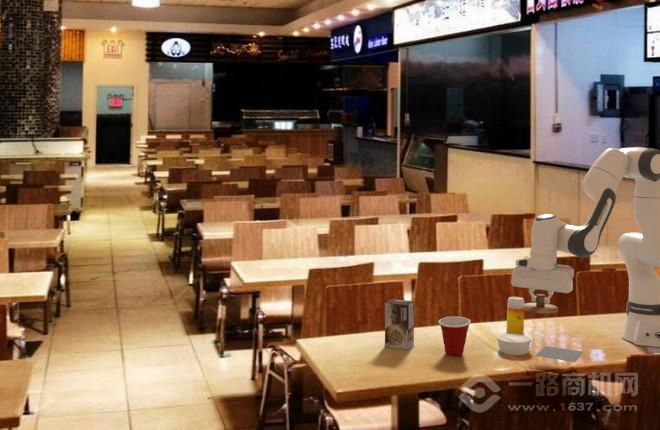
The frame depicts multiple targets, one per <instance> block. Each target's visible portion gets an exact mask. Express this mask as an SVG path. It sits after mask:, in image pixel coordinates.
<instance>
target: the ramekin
mask: <svg viewBox="0 0 660 430" xmlns="http://www.w3.org/2000/svg"><path fill="white" fill-rule="evenodd" d="M497 342H498V343H497V344H498V349H499V352H500V353H503V354H506V355H510V356H522V355H527V354H528V353H529V351H530V345H531V344H532V339H531V337H530V336H527V335H524V334H523V335H521V334H506V333H504V334H500V335H498V336H497Z"/></svg>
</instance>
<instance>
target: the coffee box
mask: <svg viewBox="0 0 660 430" xmlns="http://www.w3.org/2000/svg"><path fill="white" fill-rule="evenodd" d="M414 341H415V301H414V300H404V299H395V298H393V299H392V298H390V299H388V300H387V301H386V302H384V347H386V348H392V349H400V350H411V348H413V347H414V346H415V342H414Z"/></svg>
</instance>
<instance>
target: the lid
mask: <svg viewBox="0 0 660 430" xmlns="http://www.w3.org/2000/svg"><path fill="white" fill-rule="evenodd" d="M536 296H537V300H536V302H527V303H525V304H523V309H524V311H526V312H530V313H534V314H535V313H536V314H556V313H558V311H559V310H558V309H559V308H558V307H557V306H556V305H554V304H550V303H549V304H546V303H544V298H545V297H546V294H542V293H541V294H540V293H539V294H538V293H537V294H536Z"/></svg>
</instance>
